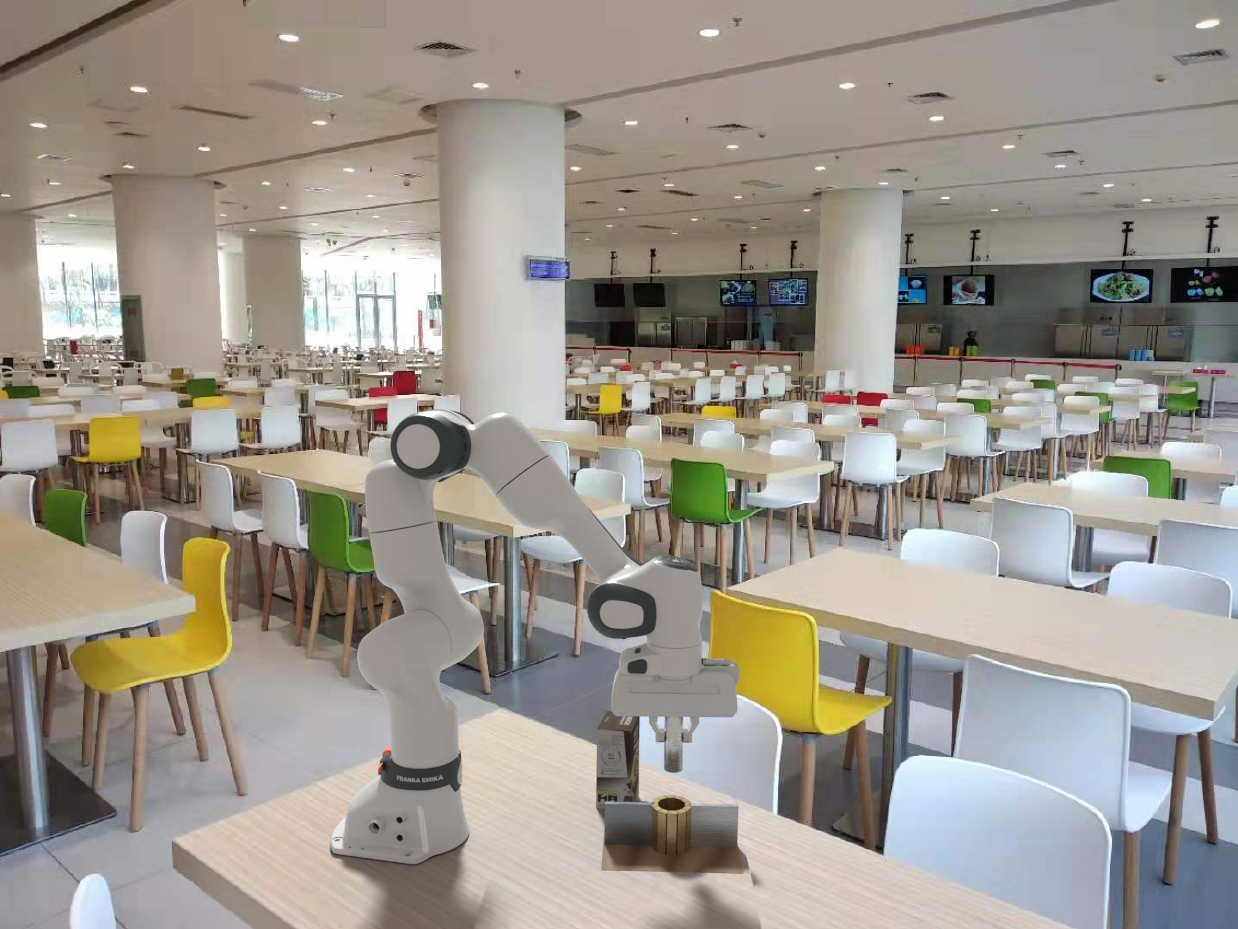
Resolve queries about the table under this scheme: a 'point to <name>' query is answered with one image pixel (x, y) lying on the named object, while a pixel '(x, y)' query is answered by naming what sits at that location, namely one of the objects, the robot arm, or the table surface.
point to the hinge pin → (673, 744)
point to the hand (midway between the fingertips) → (673, 741)
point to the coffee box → (617, 759)
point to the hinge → (671, 824)
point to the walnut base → (671, 859)
